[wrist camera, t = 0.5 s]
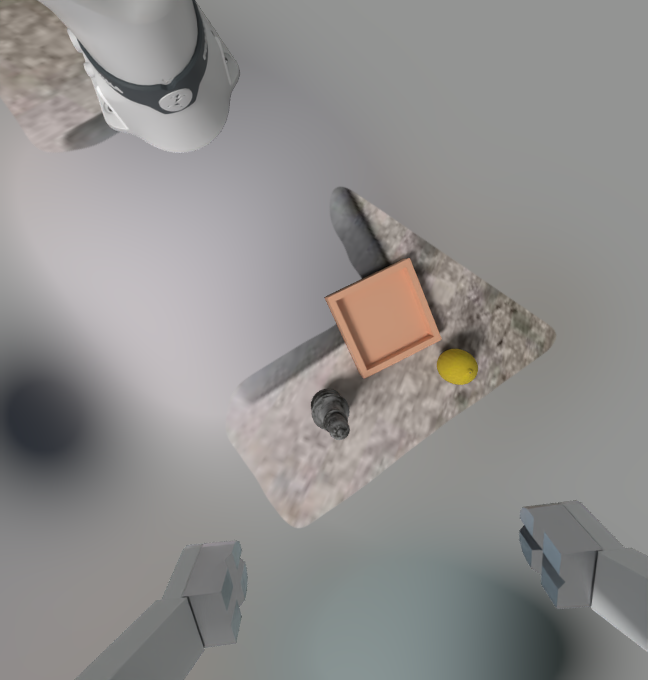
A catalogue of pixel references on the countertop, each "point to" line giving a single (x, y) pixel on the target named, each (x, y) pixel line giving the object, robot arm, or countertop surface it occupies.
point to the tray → (384, 317)
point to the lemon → (457, 366)
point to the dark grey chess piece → (331, 413)
